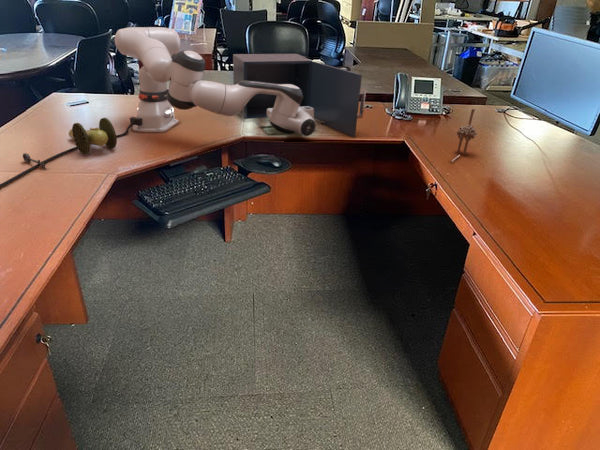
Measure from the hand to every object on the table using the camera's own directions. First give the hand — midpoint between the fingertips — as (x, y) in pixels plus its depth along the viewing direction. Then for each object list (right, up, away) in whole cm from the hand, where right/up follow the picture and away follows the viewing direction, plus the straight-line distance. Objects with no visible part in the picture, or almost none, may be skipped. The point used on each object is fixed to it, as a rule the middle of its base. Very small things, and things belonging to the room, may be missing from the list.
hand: (284, 108), depth 200 cm
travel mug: (+29, +11, +38) cm, 49 cm away
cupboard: (-7, +2, +19) cm, 21 cm away
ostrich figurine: (+70, -26, -22) cm, 78 cm away
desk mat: (+1, -8, +2) cm, 8 cm away
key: (-83, -33, -50) cm, 102 cm away
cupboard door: (+24, -7, +6) cm, 25 cm away
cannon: (-72, -23, -32) cm, 83 cm away
